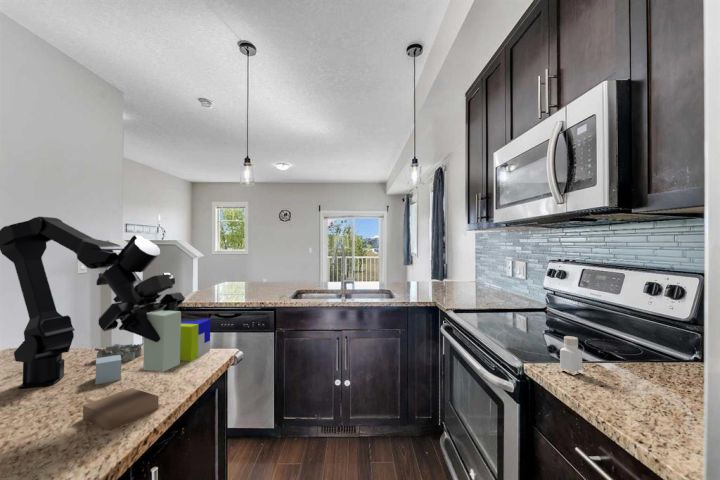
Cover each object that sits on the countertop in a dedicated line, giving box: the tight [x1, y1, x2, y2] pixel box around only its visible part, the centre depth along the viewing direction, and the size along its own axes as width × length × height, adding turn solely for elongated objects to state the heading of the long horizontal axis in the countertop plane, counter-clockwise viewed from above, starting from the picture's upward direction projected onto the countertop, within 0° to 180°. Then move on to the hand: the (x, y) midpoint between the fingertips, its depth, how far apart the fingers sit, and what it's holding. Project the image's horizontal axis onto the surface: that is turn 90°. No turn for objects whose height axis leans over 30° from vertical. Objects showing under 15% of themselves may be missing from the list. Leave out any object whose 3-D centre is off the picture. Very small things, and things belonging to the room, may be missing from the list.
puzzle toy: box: [180, 318, 211, 362], centre depth 103 cm, size 10×10×10 cm
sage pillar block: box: [143, 310, 182, 373], centre depth 75 cm, size 5×5×12 cm
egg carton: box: [94, 342, 144, 362], centre depth 100 cm, size 11×8×4 cm
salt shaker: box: [559, 335, 583, 372], centre depth 91 cm, size 4×4×10 cm
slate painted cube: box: [94, 355, 122, 385], centre depth 84 cm, size 5×5×5 cm
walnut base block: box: [82, 387, 160, 431], centre depth 67 cm, size 9×9×3 cm
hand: (167, 337), depth 75 cm, fingers closed on sage pillar block, 5 cm apart
